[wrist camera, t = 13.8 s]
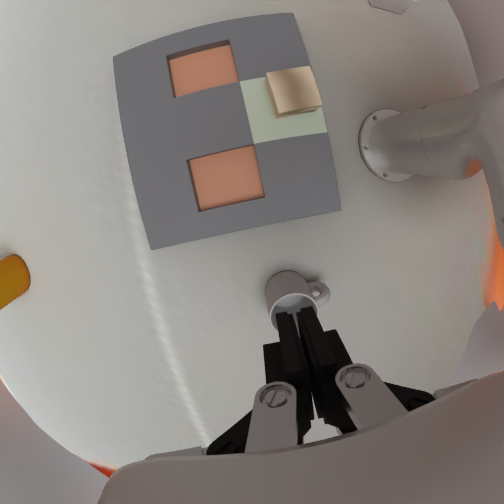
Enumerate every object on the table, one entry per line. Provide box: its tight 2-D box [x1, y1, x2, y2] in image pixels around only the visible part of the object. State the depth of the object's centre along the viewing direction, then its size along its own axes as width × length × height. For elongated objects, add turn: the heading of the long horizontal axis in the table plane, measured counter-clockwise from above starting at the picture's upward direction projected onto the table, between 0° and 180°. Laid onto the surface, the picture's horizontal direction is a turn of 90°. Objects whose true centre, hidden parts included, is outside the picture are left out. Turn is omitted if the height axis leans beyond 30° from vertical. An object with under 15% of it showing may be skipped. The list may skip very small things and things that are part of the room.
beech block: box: [264, 66, 323, 119], centre depth 33 cm, size 6×6×4 cm
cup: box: [266, 271, 331, 334], centre depth 42 cm, size 7×10×9 cm
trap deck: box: [113, 13, 341, 250], centre depth 37 cm, size 30×34×2 cm
